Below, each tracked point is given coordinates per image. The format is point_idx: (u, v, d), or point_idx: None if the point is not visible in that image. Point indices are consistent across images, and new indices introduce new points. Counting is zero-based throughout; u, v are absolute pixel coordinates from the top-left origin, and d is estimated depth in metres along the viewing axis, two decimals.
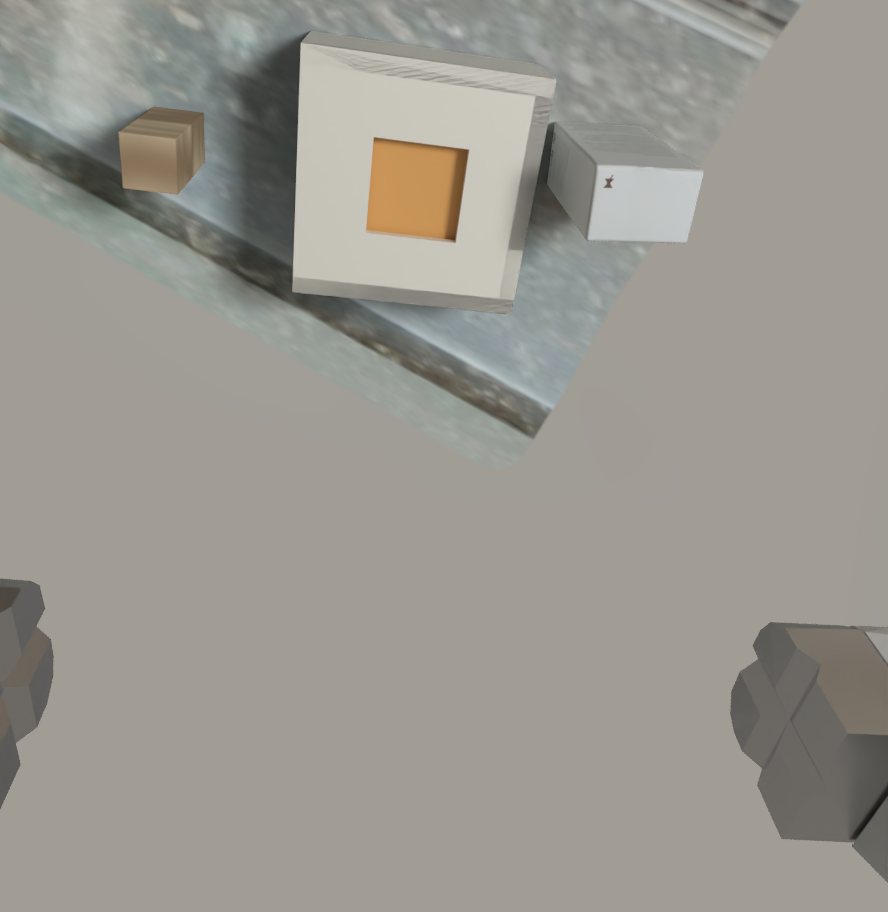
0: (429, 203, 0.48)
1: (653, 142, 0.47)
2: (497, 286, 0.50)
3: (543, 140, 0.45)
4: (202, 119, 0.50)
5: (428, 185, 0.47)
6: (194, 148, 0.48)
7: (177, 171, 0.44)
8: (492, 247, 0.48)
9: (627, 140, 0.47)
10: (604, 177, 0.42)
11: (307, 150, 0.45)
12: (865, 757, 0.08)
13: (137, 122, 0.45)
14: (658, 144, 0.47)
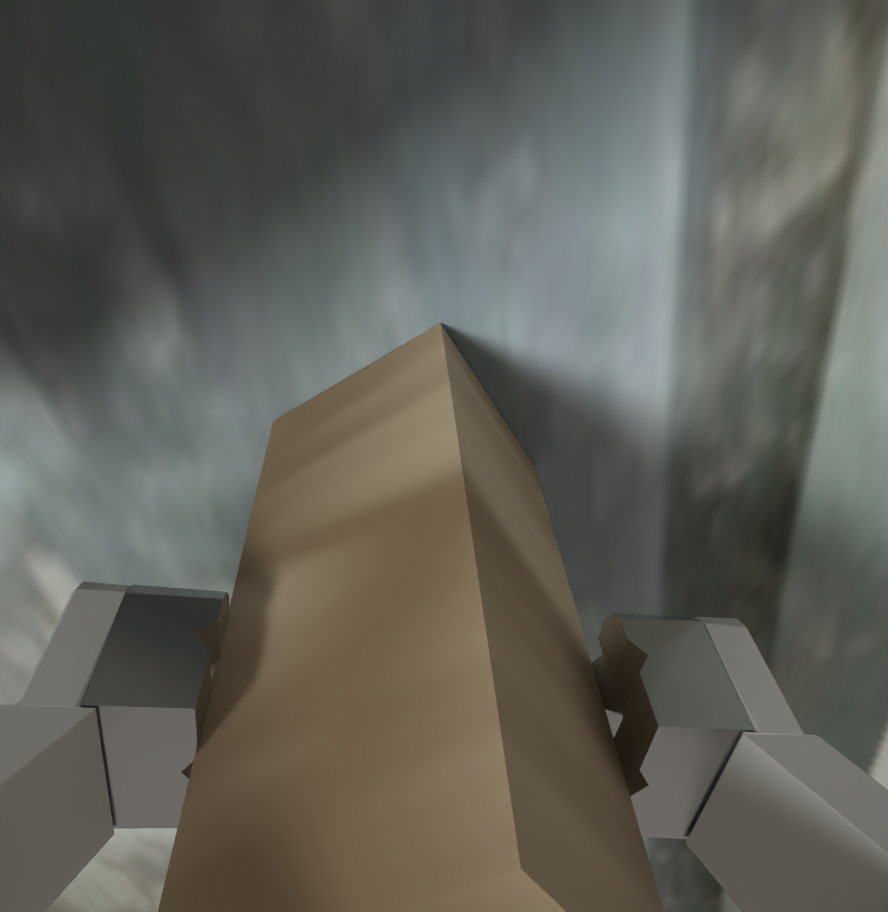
0: None
1: None
2: None
3: None
4: (287, 423, 0.12)
5: None
6: (347, 492, 0.09)
7: (351, 894, 0.05)
8: None
9: None
10: None
11: None
12: (682, 751, 0.08)
13: None
14: None
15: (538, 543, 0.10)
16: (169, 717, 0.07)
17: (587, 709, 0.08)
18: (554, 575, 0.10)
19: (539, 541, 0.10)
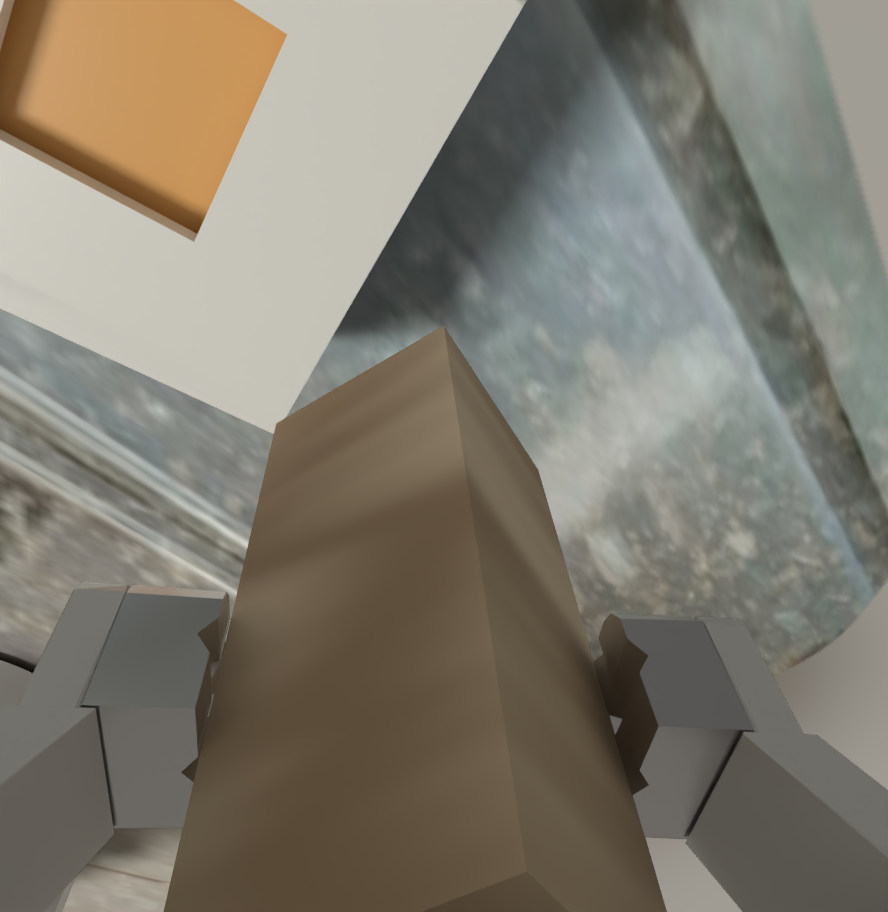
0: (110, 17, 0.18)
1: None
2: None
3: None
4: (290, 426, 0.12)
5: (103, 64, 0.19)
6: (351, 495, 0.09)
7: (356, 898, 0.05)
8: None
9: None
10: None
11: (343, 274, 0.21)
12: (682, 751, 0.08)
13: None
14: None
15: (541, 545, 0.10)
16: (169, 717, 0.07)
17: (591, 711, 0.08)
18: (557, 577, 0.10)
19: (542, 543, 0.10)
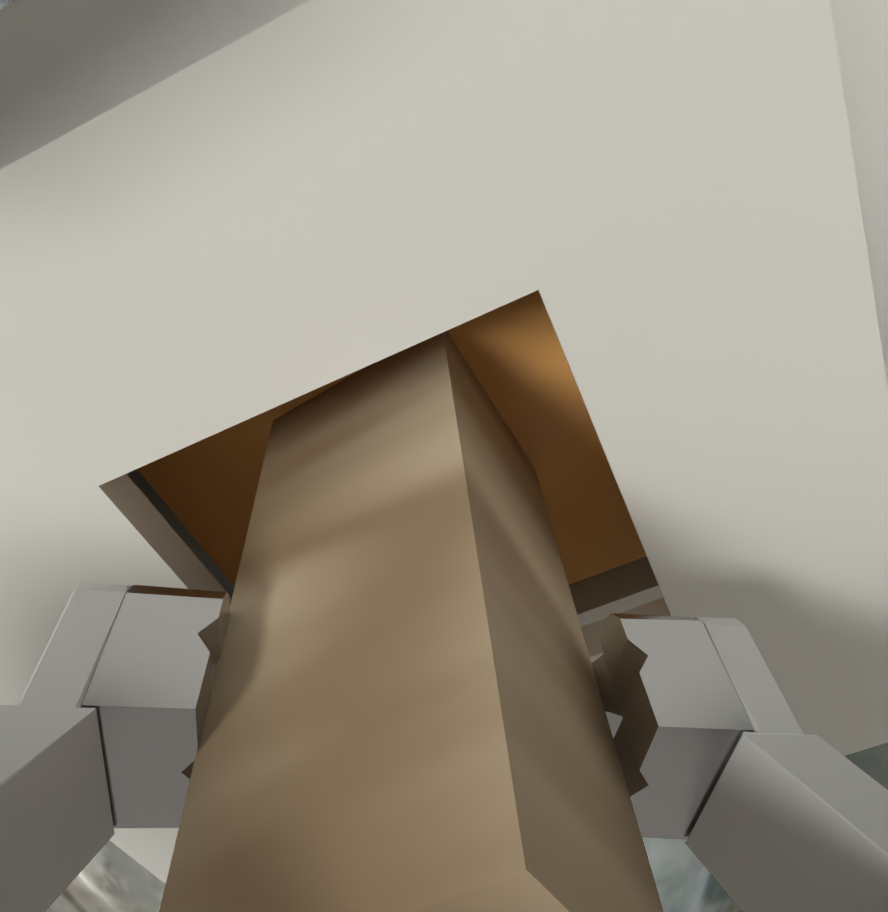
0: None
1: None
2: None
3: None
4: (287, 423, 0.12)
5: None
6: (348, 492, 0.09)
7: (356, 894, 0.05)
8: (448, 66, 0.07)
9: None
10: None
11: None
12: (682, 751, 0.08)
13: None
14: None
15: (538, 544, 0.10)
16: (168, 719, 0.07)
17: (587, 710, 0.08)
18: (554, 576, 0.10)
19: (539, 542, 0.10)
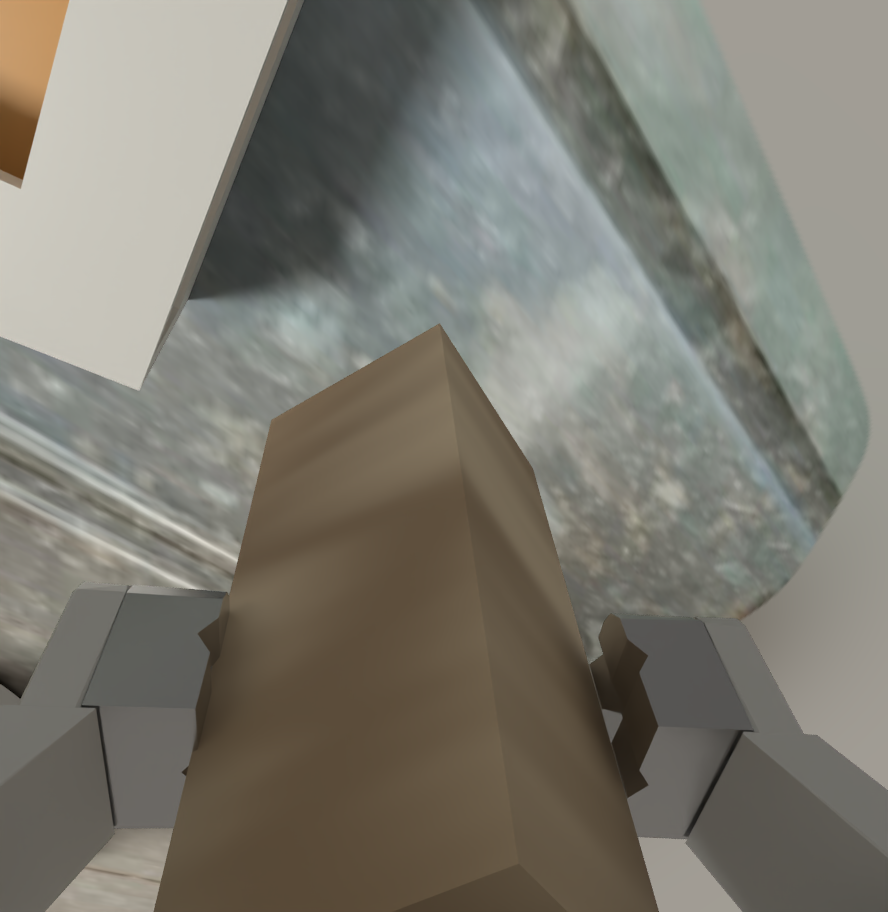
0: None
1: None
2: None
3: None
4: (285, 422, 0.12)
5: None
6: (345, 491, 0.09)
7: (349, 890, 0.05)
8: None
9: None
10: None
11: (180, 215, 0.20)
12: (682, 751, 0.08)
13: None
14: None
15: (535, 543, 0.10)
16: (170, 718, 0.07)
17: (583, 708, 0.08)
18: (551, 575, 0.10)
19: (536, 541, 0.10)
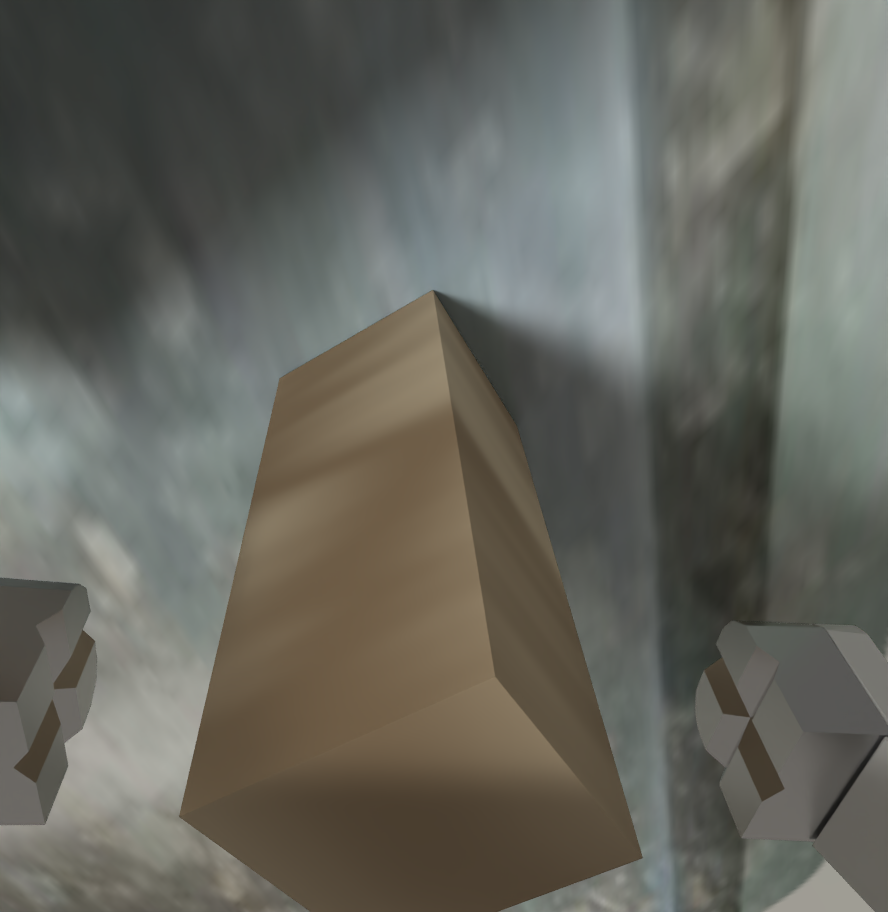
0: None
1: None
2: None
3: None
4: (293, 379, 0.13)
5: None
6: (349, 430, 0.10)
7: (360, 712, 0.06)
8: None
9: None
10: None
11: None
12: (821, 756, 0.08)
13: None
14: None
15: (517, 481, 0.11)
16: None
17: (556, 611, 0.09)
18: (531, 509, 0.11)
19: (518, 480, 0.11)
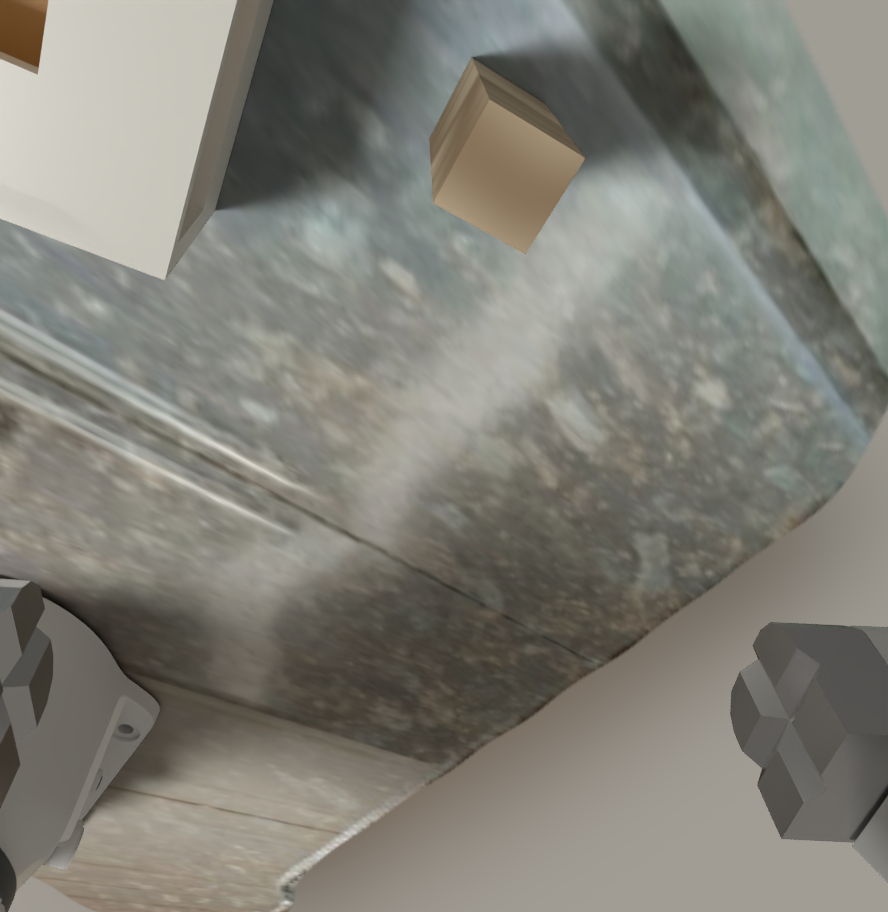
0: None
1: None
2: None
3: None
4: (433, 132, 0.28)
5: None
6: (453, 115, 0.25)
7: (465, 141, 0.21)
8: None
9: None
10: None
11: (189, 91, 0.21)
12: (865, 757, 0.08)
13: None
14: None
15: (532, 104, 0.25)
16: None
17: (549, 123, 0.23)
18: (543, 112, 0.25)
19: (534, 105, 0.25)
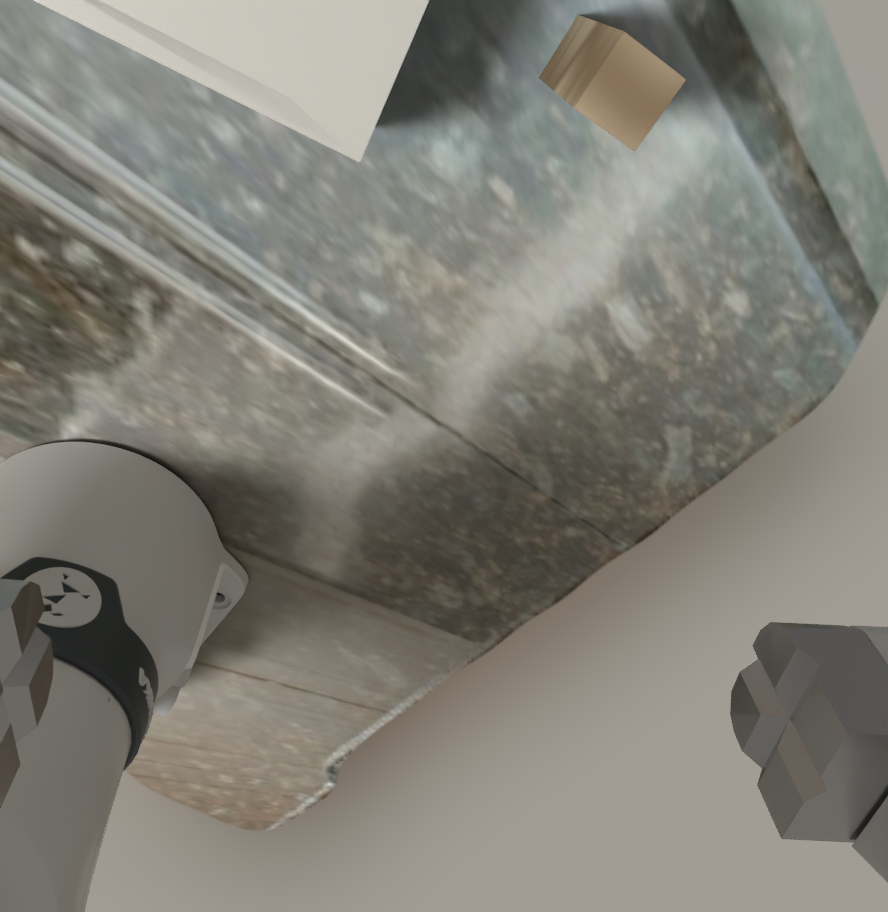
0: None
1: None
2: None
3: None
4: (544, 72, 0.36)
5: None
6: (572, 54, 0.33)
7: (602, 62, 0.29)
8: None
9: None
10: None
11: (405, 14, 0.28)
12: (865, 757, 0.08)
13: None
14: None
15: None
16: None
17: None
18: None
19: None
